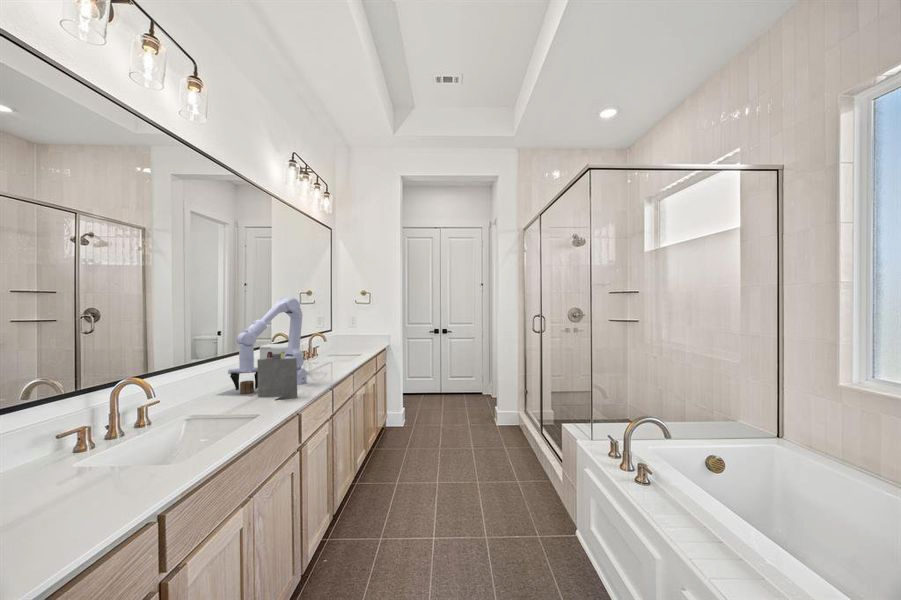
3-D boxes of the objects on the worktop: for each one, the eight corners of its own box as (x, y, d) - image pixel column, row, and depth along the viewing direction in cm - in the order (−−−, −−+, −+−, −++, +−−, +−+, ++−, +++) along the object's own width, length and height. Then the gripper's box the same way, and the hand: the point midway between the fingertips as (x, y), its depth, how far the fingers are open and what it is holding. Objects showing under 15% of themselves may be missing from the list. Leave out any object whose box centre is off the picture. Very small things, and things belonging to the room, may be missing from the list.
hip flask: (298, 396, 163) (297, 351, 163) (295, 399, 159) (295, 353, 159) (259, 399, 160) (258, 353, 160) (256, 401, 156) (255, 354, 156)
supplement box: (259, 379, 201) (258, 346, 201) (268, 374, 214) (268, 343, 214) (291, 378, 203) (291, 345, 203) (299, 373, 216) (298, 343, 216)
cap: (252, 390, 169) (252, 380, 169) (254, 393, 165) (254, 381, 165) (239, 392, 166) (239, 381, 166) (241, 395, 162) (241, 383, 162)
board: (269, 392, 171) (269, 389, 171) (251, 399, 159) (251, 396, 159) (234, 391, 174) (234, 388, 174) (214, 398, 162) (214, 395, 162)
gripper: (225, 361, 160) (226, 392, 159) (262, 359, 163) (262, 389, 163) (230, 358, 166) (231, 388, 166) (265, 357, 170) (266, 386, 170)
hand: (247, 389), depth 165 cm, fingers open, 7 cm apart
